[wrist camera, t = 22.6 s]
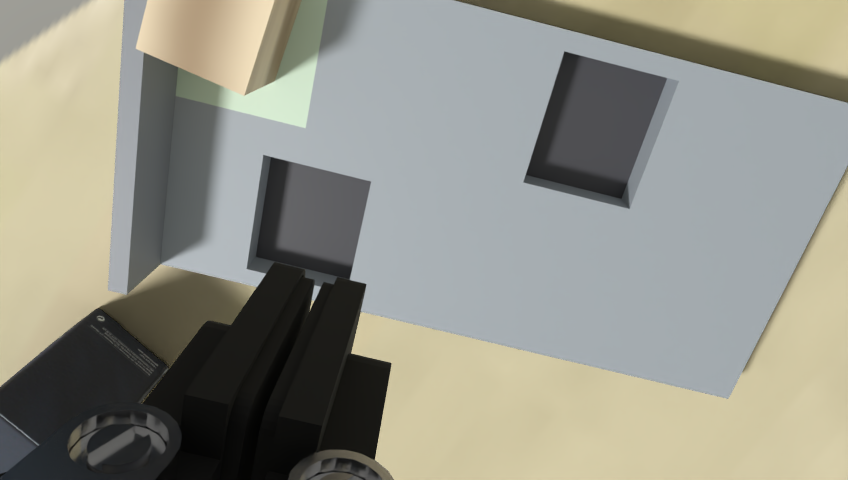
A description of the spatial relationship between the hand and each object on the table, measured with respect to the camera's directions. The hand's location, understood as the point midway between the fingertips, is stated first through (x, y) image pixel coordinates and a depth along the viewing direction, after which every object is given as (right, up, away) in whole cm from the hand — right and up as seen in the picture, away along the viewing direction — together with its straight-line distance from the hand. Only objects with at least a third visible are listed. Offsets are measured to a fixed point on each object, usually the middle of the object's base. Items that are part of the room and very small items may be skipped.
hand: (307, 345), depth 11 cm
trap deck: (+5, +5, +25) cm, 26 cm away
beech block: (-7, +13, +20) cm, 25 cm away
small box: (-21, -7, +31) cm, 38 cm away
